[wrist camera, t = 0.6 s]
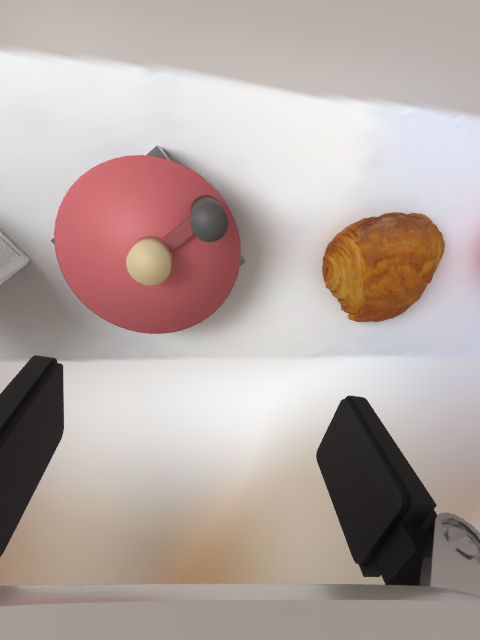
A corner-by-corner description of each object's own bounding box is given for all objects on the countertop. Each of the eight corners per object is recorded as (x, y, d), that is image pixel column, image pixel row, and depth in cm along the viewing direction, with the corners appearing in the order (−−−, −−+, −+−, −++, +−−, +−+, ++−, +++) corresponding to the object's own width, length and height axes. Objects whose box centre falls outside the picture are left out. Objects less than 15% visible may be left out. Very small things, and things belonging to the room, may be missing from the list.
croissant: (319, 210, 41) (336, 219, 34) (440, 206, 41) (483, 215, 34) (311, 311, 47) (324, 337, 40) (416, 309, 47) (447, 334, 40)
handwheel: (150, 355, 38) (142, 394, 32) (17, 238, 30) (-29, 260, 24) (270, 265, 35) (288, 289, 29) (157, 108, 27) (147, 94, 21)
